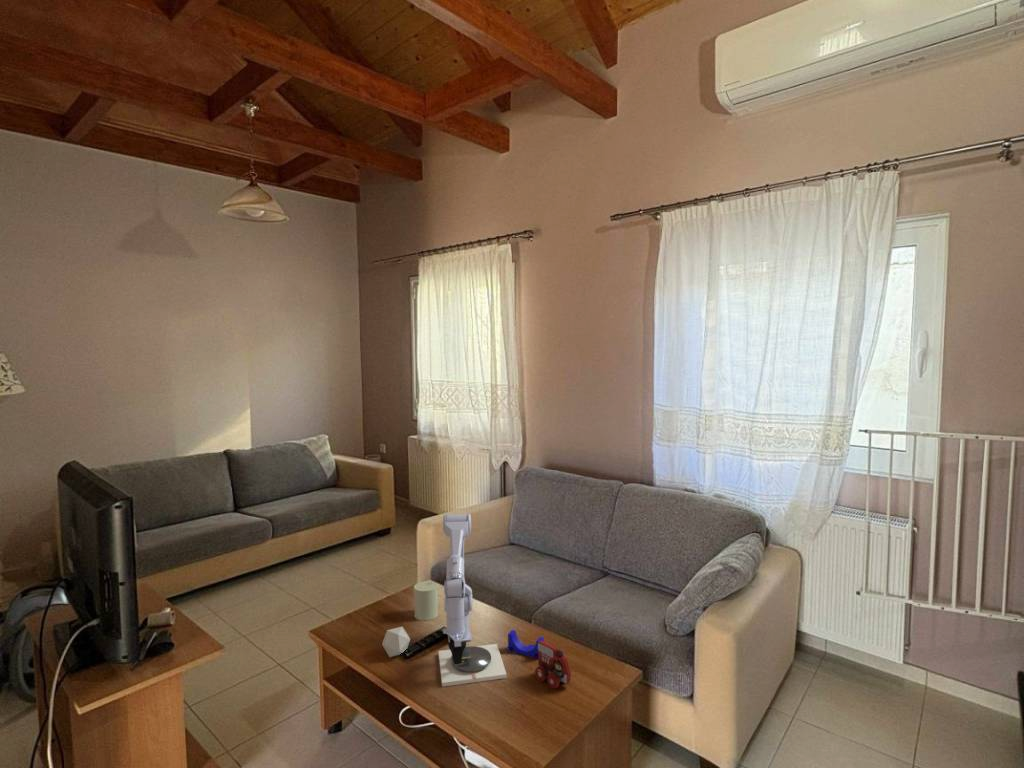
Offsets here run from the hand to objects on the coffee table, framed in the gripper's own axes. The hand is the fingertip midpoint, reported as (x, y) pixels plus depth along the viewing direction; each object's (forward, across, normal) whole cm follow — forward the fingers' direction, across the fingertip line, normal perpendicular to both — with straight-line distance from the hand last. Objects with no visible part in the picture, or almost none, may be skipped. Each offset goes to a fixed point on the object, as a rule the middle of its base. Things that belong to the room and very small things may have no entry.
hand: (456, 656), depth 171 cm
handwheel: (+2, 0, +5) cm, 5 cm away
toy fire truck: (+4, +13, +29) cm, 32 cm away
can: (+4, -38, -8) cm, 39 cm away
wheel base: (+4, 0, +5) cm, 6 cm away
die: (+4, -13, -19) cm, 24 cm away
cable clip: (+4, -4, +24) cm, 25 cm away
